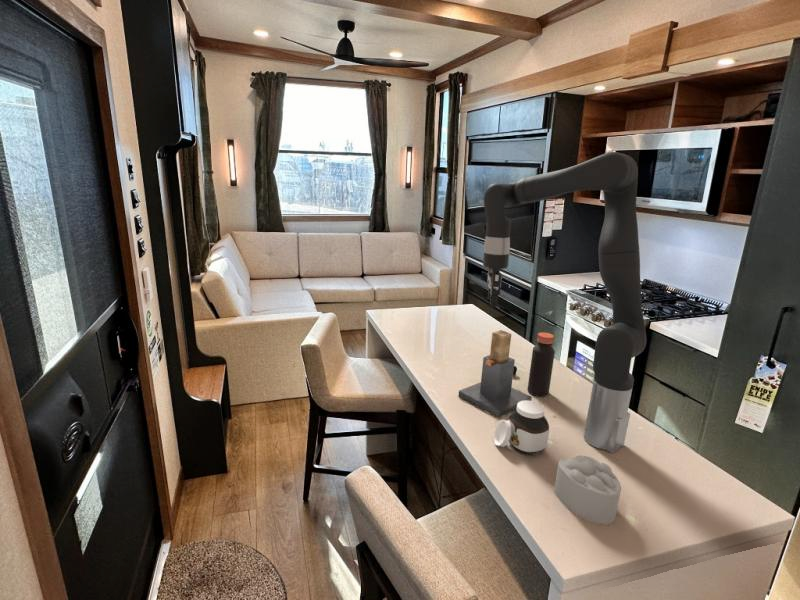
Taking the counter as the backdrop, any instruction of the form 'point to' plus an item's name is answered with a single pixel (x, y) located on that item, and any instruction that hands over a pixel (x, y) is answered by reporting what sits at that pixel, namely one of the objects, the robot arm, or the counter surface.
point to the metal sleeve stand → (495, 389)
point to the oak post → (500, 346)
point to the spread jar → (524, 428)
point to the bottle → (541, 365)
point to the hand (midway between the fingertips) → (492, 303)
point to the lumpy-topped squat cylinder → (588, 489)
